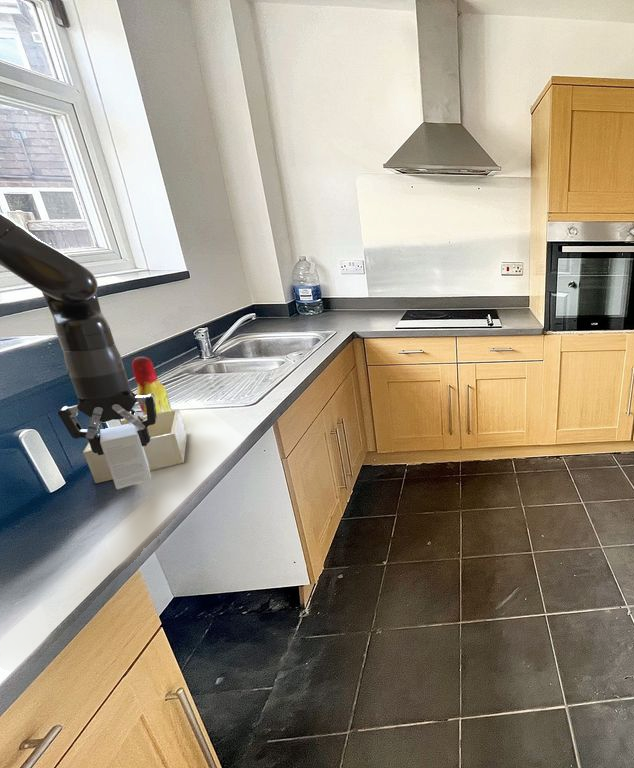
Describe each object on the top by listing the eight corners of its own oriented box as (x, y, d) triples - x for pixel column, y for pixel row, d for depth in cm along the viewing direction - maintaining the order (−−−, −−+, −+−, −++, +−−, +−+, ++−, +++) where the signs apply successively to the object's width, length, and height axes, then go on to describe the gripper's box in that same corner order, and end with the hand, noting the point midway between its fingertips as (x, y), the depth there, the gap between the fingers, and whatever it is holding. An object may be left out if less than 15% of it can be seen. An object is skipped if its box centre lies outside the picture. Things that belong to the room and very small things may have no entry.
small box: (115, 474, 87) (99, 428, 84) (149, 465, 91) (135, 421, 87) (115, 490, 82) (98, 442, 78) (152, 480, 85) (137, 433, 82)
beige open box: (95, 483, 91) (82, 452, 88) (110, 451, 105) (100, 423, 102) (183, 462, 99) (174, 433, 97) (187, 435, 113) (179, 408, 110)
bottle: (170, 428, 117) (148, 360, 110) (141, 433, 114) (117, 364, 107) (177, 413, 127) (158, 350, 120) (150, 417, 124) (129, 353, 117)
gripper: (148, 359, 85) (170, 433, 91) (49, 371, 78) (79, 451, 83) (144, 368, 79) (167, 447, 85) (36, 382, 72) (69, 467, 77)
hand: (123, 448), depth 84 cm, fingers closed on small box, 6 cm apart
